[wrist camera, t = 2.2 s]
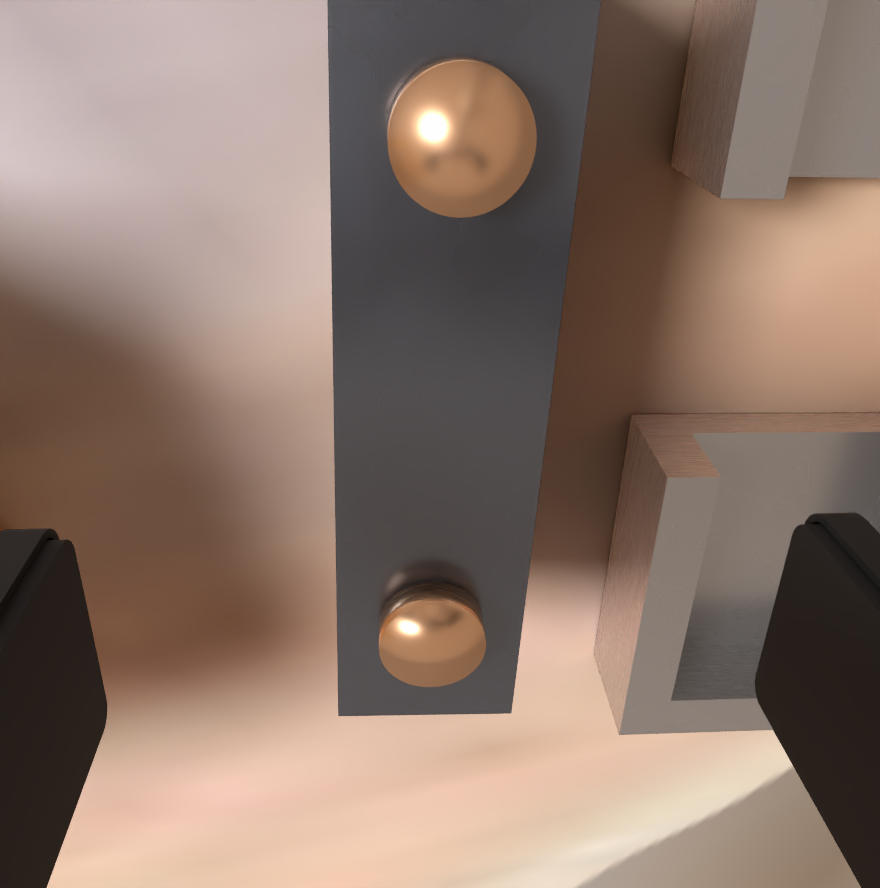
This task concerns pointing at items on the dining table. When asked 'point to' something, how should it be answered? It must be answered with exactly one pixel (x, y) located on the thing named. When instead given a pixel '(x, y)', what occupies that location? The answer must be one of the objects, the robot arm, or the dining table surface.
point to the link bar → (445, 330)
